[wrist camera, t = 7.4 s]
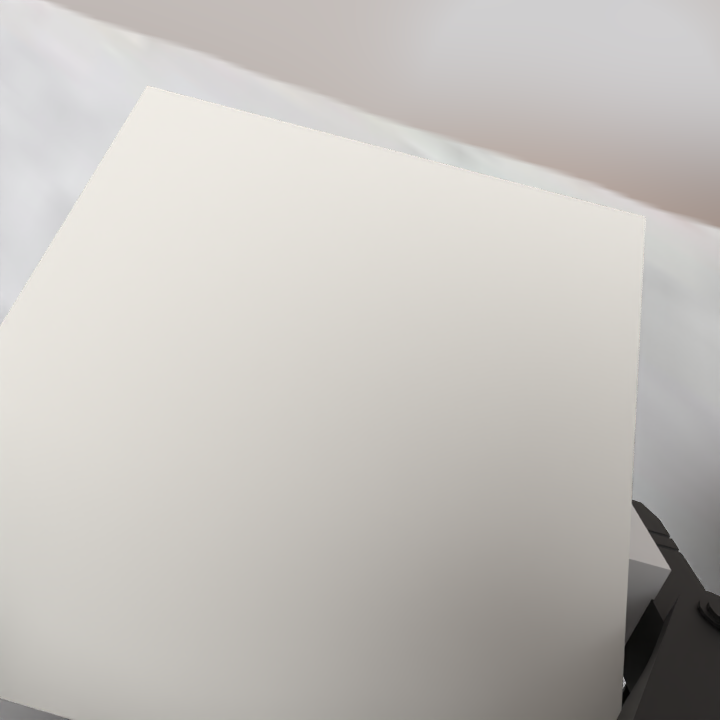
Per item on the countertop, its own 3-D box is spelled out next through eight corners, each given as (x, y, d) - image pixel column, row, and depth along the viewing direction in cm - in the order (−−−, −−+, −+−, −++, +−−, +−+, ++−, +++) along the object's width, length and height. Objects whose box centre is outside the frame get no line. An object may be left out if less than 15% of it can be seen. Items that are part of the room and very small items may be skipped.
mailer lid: (514, 364, 19) (645, 216, 11) (457, 732, 14) (613, 880, 7) (210, 281, 19) (146, 85, 12) (61, 616, 14) (-193, 641, 7)
